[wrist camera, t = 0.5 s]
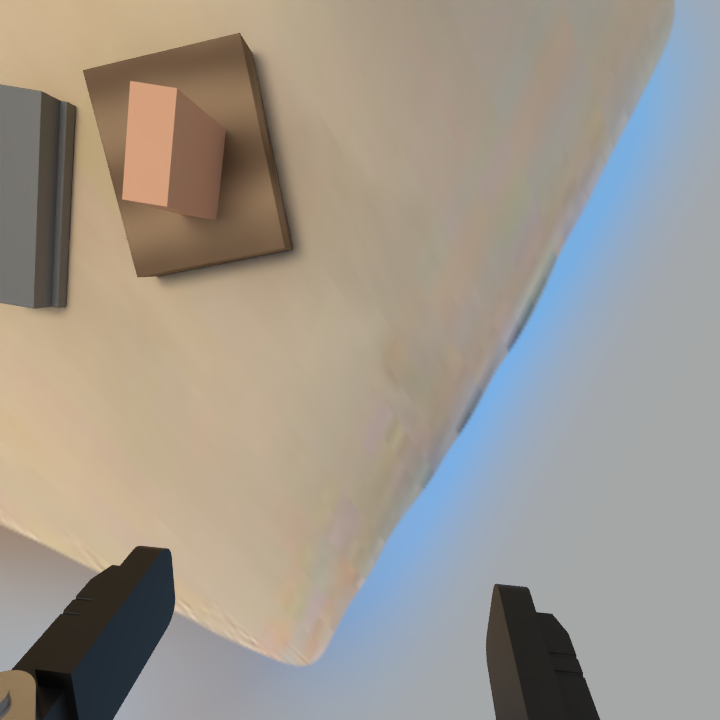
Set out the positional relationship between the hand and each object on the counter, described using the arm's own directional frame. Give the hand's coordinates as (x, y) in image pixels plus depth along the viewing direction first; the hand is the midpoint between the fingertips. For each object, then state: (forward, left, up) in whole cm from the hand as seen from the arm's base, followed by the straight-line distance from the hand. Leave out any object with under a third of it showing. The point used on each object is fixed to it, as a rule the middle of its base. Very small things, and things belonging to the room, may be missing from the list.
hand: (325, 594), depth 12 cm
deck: (-17, -9, -28) cm, 34 cm away
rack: (-18, -25, -28) cm, 42 cm away
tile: (-16, -8, -25) cm, 31 cm away
